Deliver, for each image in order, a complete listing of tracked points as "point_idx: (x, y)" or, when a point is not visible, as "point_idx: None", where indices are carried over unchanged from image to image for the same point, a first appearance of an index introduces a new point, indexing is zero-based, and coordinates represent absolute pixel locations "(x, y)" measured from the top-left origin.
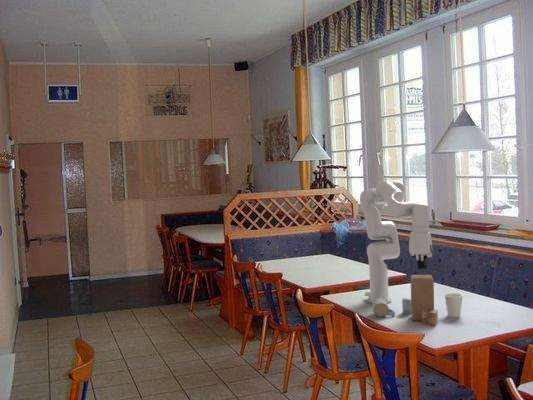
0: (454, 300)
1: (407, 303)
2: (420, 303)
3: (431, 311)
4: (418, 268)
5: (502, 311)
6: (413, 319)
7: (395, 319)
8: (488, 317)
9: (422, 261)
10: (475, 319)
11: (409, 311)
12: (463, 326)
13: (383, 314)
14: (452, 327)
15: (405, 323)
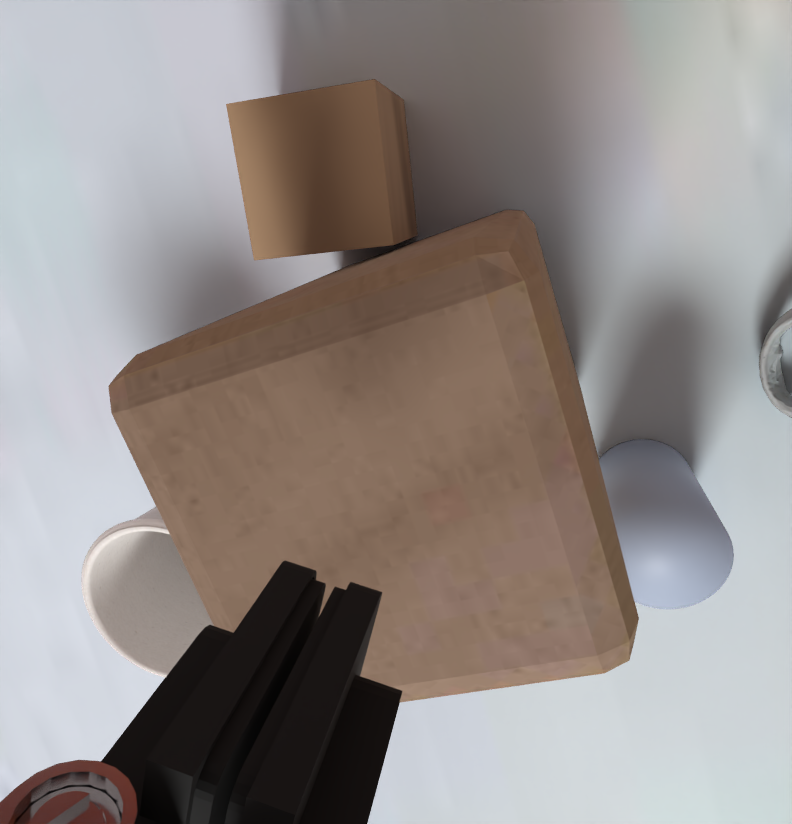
0: (148, 512)
1: (649, 486)
2: (420, 243)
3: (285, 161)
4: (364, 588)
5: (26, 688)
6: (516, 210)
7: (716, 212)
8: (38, 525)
9: (126, 776)
10: (87, 447)
11: (618, 458)
12: (84, 207)
13: None
14: (143, 136)
15: (575, 91)
